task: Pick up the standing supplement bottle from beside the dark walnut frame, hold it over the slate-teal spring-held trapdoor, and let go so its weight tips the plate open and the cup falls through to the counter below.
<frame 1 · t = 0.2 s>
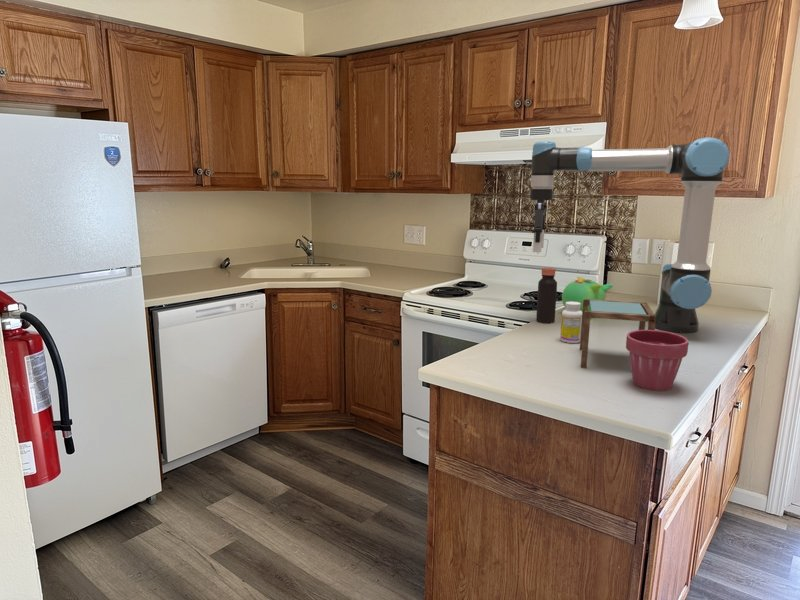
hand: (538, 250, 193), 28 cm above the worktop, tool pointing down, fingers open, 13 cm apart
supplement bottle: (570, 341, 180), on the worktop
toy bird: (583, 314, 218), on the worktop
trapdoor: (616, 308, 157), point 15 cm above the worktop, hinge at 0.0°
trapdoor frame: (611, 360, 160), on the worktop
plant pot: (652, 385, 141), on the worktop
vinegar: (545, 322, 206), on the worktop
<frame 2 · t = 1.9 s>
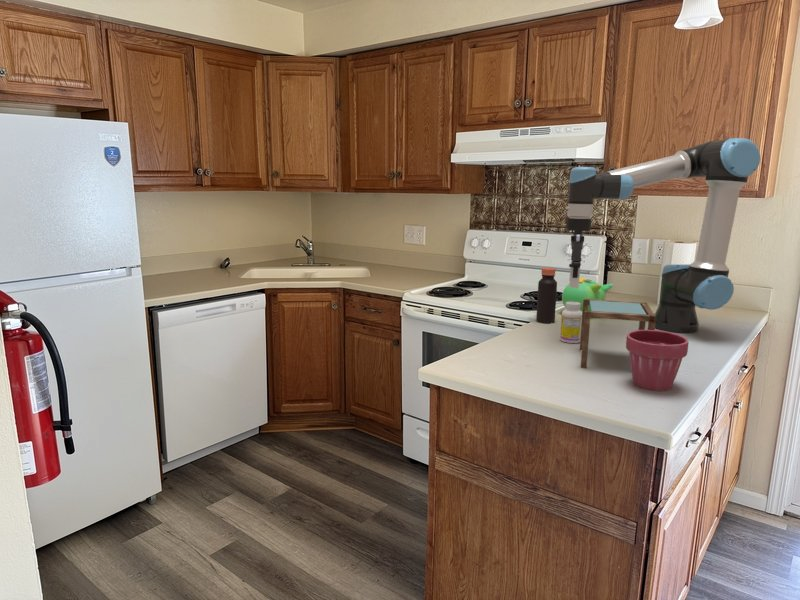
hand: (573, 284, 176), 19 cm above the worktop, tool pointing down, fingers open, 13 cm apart
nothing on the worktop moved.
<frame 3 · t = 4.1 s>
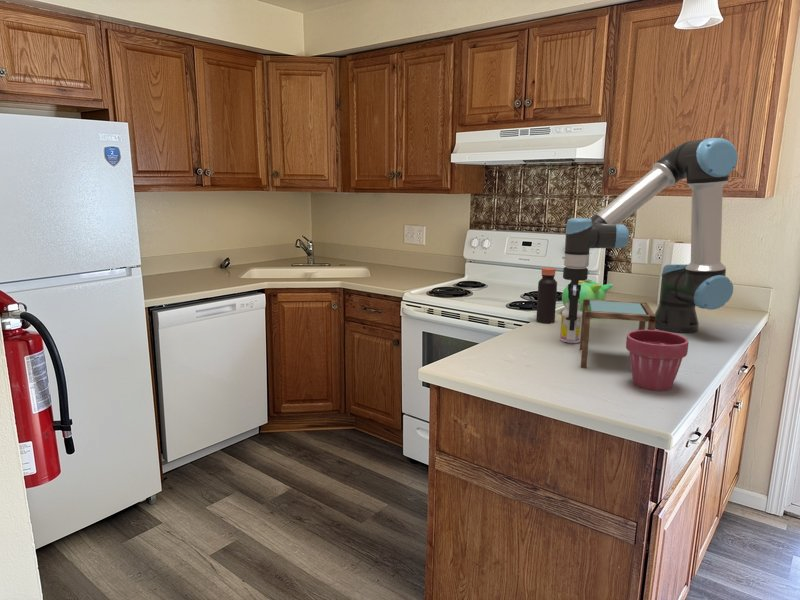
hand: (570, 336, 180), 2 cm above the worktop, tool pointing down, fingers closed on supplement bottle, 7 cm apart
supplement bottle: (570, 341, 180), on the worktop, touching gripper
everything else where it was.
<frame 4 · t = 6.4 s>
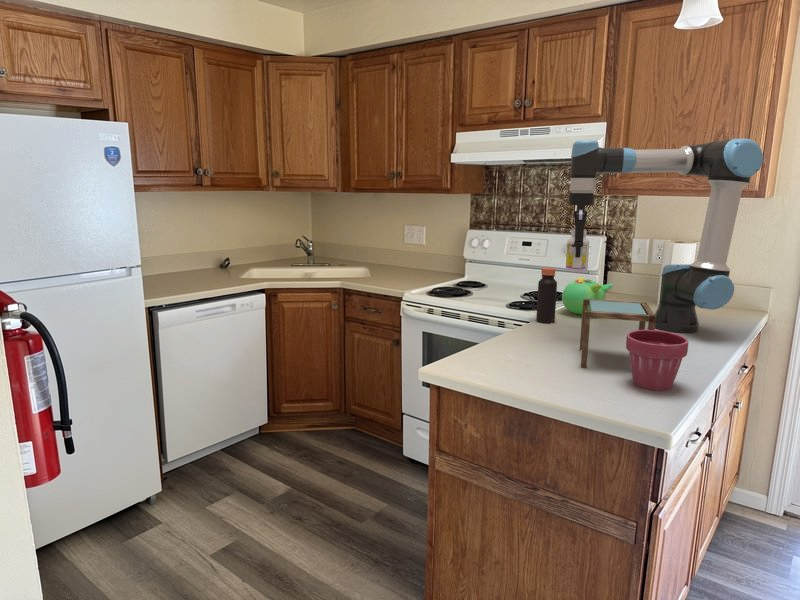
hand: (576, 265, 175), 25 cm above the worktop, tool pointing down, fingers closed on supplement bottle, 7 cm apart
supplement bottle: (576, 271, 175), point 23 cm above the worktop, touching gripper
everything else where it was.
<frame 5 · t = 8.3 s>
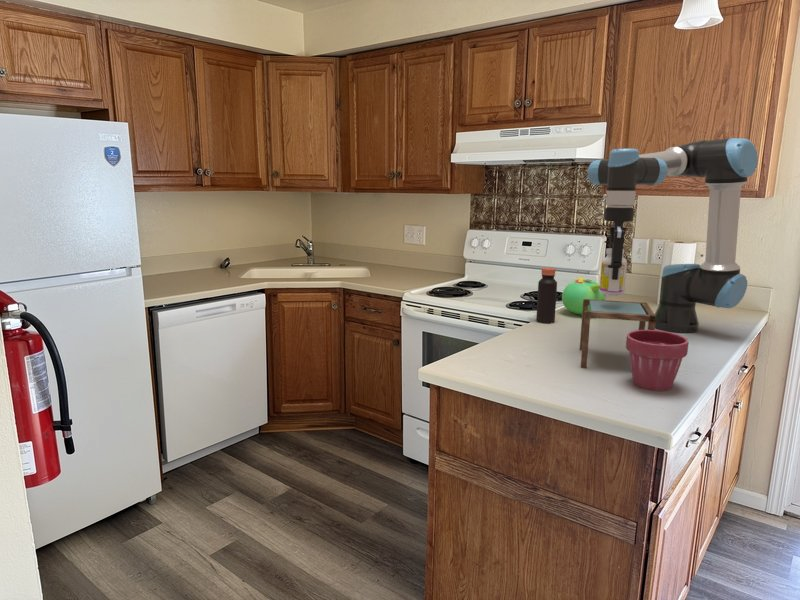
hand: (612, 288, 156), 21 cm above the worktop, tool pointing down, fingers closed on supplement bottle, 7 cm apart
supplement bottle: (611, 294, 157), point 20 cm above the worktop, touching gripper
everything else where it was.
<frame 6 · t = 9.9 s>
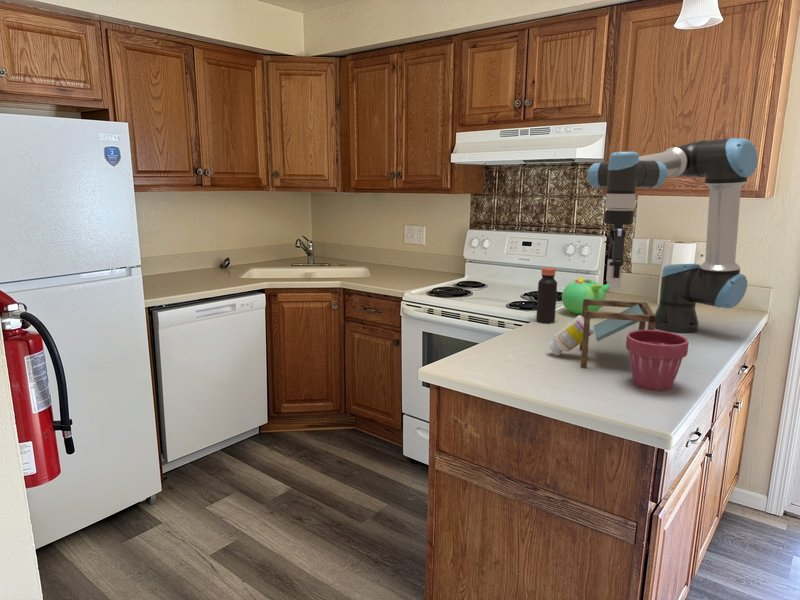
hand: (612, 285, 156), 22 cm above the worktop, tool pointing down, fingers open, 13 cm apart
supplement bottle: (587, 322, 160), point 11 cm above the worktop, touching trapdoor
trapdoor: (618, 322, 158), point 12 cm above the worktop, hinge at -32.8°, touching supplement bottle
everything else where it was.
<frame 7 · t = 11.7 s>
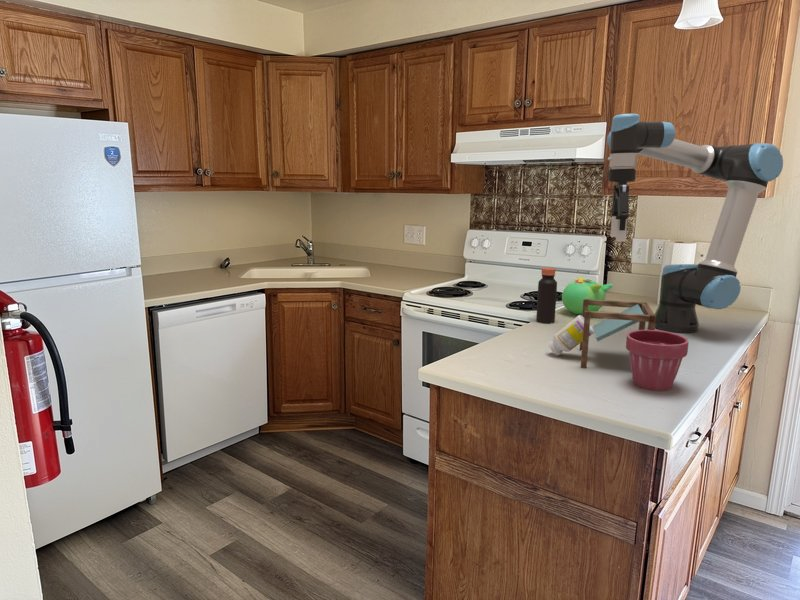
hand: (618, 239, 169), 34 cm above the worktop, tool pointing down, fingers open, 13 cm apart
nothing on the worktop moved.
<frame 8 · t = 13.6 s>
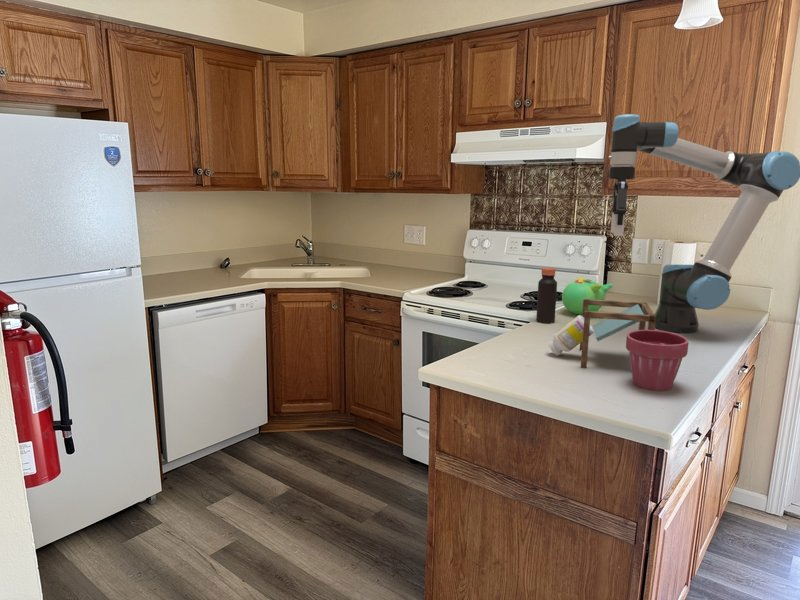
hand: (616, 234, 177), 35 cm above the worktop, tool pointing down, fingers open, 13 cm apart
nothing on the worktop moved.
at the end: supplement bottle point 10.8 cm above the worktop; the gripper is holding nothing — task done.
